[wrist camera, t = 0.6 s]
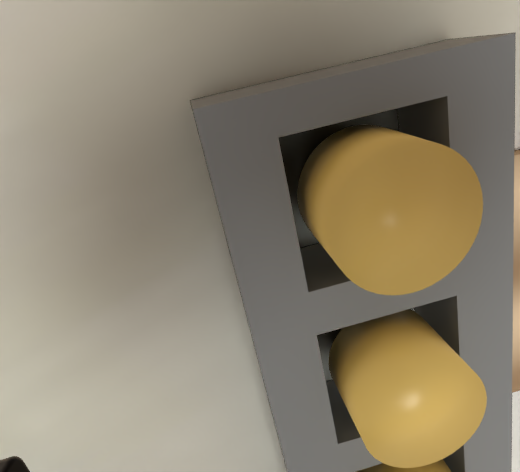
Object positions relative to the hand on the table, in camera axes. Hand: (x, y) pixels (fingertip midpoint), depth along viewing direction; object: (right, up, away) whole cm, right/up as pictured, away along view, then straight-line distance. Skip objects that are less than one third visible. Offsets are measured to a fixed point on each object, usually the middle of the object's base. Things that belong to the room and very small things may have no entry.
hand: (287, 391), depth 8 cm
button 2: (+5, -3, +13) cm, 14 cm away
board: (+5, -2, +15) cm, 16 cm away
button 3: (+3, +4, +10) cm, 11 cm away
